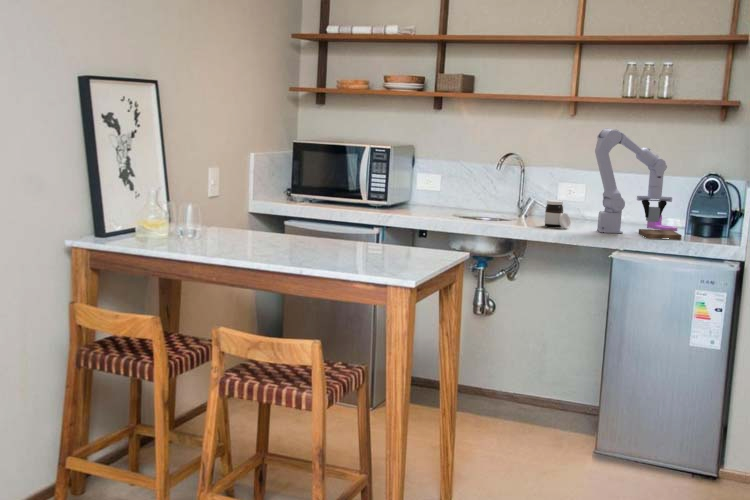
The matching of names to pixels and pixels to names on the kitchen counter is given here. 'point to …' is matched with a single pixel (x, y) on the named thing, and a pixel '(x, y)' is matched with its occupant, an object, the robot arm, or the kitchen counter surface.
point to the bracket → (660, 225)
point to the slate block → (653, 214)
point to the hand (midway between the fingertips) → (652, 217)
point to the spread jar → (556, 215)
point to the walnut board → (659, 234)
